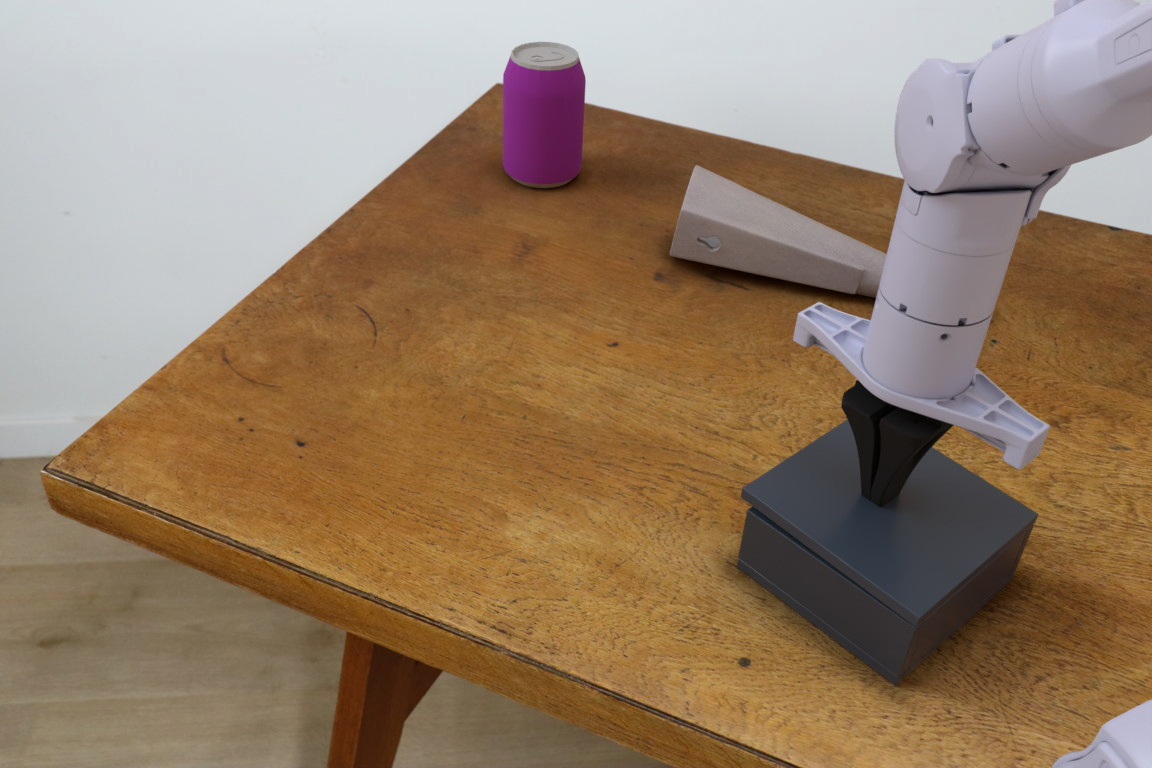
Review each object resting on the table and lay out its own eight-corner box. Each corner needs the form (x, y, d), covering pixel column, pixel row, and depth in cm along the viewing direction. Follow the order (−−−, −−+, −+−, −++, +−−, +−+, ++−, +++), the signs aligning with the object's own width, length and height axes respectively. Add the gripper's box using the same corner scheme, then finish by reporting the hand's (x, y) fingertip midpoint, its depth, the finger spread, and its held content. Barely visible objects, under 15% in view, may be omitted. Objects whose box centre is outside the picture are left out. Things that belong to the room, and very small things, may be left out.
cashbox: (736, 567, 67) (746, 509, 64) (855, 482, 74) (870, 426, 71) (895, 687, 61) (915, 628, 58) (1011, 581, 67) (1034, 524, 64)
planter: (996, 227, 94) (701, 149, 96) (1003, 276, 87) (684, 191, 89) (962, 302, 99) (681, 227, 101) (966, 355, 92) (664, 272, 94)
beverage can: (524, 198, 104) (526, 74, 97) (489, 164, 109) (488, 45, 102) (595, 182, 107) (602, 62, 100) (558, 151, 112) (562, 34, 105)
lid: (740, 497, 64) (742, 487, 64) (864, 415, 71) (867, 405, 71) (915, 627, 58) (919, 618, 57) (1034, 523, 64) (1039, 513, 64)
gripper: (1109, 331, 54) (1029, 530, 62) (865, 217, 62) (823, 406, 71) (1035, 385, 50) (960, 591, 58) (786, 256, 59) (750, 452, 67)
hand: (880, 493), depth 64 cm, fingers closed
